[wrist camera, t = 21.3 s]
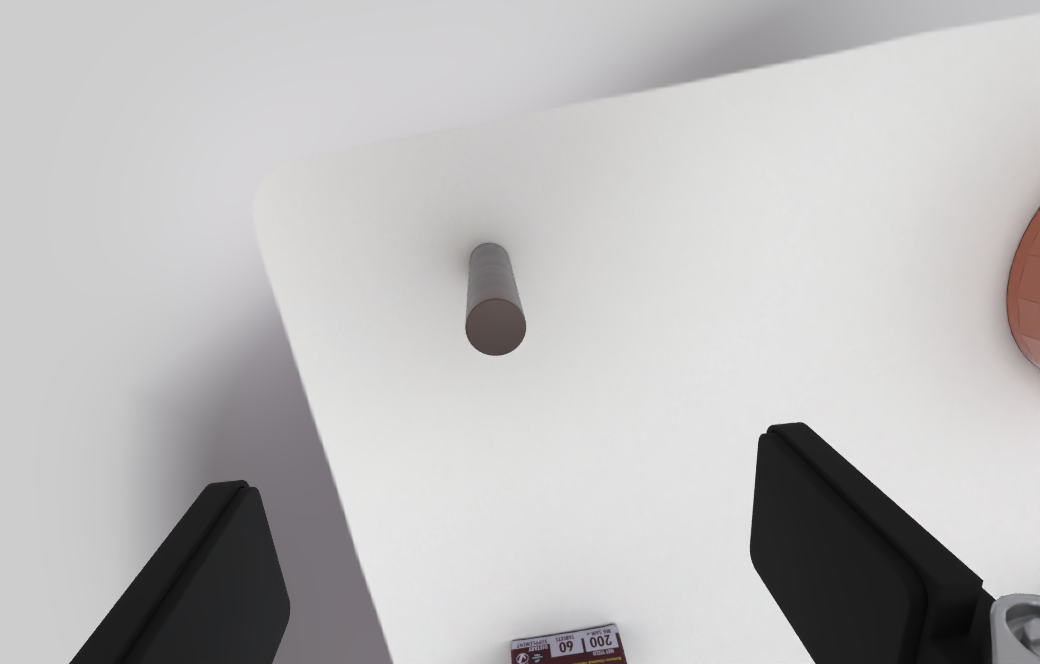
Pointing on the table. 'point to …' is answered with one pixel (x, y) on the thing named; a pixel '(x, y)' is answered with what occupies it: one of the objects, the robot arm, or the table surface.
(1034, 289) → the bowl
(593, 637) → the supplement box
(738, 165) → the table surface
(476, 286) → the stick
